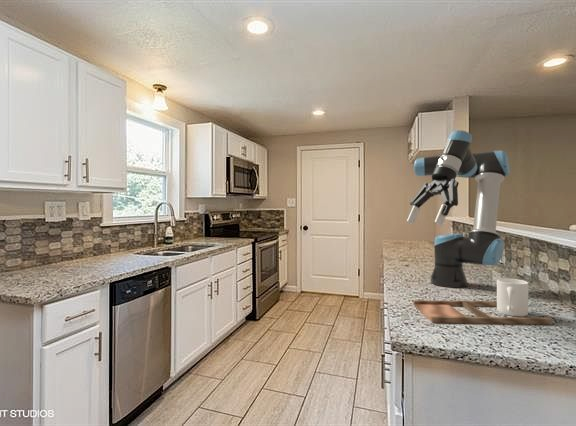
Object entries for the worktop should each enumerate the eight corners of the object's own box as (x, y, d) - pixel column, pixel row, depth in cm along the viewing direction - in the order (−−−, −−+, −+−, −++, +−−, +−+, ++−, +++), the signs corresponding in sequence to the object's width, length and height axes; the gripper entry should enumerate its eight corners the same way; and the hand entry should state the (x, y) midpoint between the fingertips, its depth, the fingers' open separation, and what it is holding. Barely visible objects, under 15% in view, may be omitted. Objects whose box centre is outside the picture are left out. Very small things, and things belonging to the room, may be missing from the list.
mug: (493, 316, 102) (493, 283, 102) (498, 307, 112) (498, 277, 111) (526, 322, 97) (526, 287, 97) (529, 312, 106) (529, 280, 106)
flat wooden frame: (513, 305, 113) (512, 301, 113) (551, 324, 95) (551, 319, 95) (413, 304, 116) (413, 300, 116) (432, 322, 97) (432, 317, 97)
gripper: (414, 170, 123) (392, 217, 120) (468, 159, 99) (443, 218, 96) (428, 179, 125) (407, 226, 122) (484, 171, 101) (460, 229, 98)
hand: (423, 223), depth 109 cm, fingers open, 13 cm apart
